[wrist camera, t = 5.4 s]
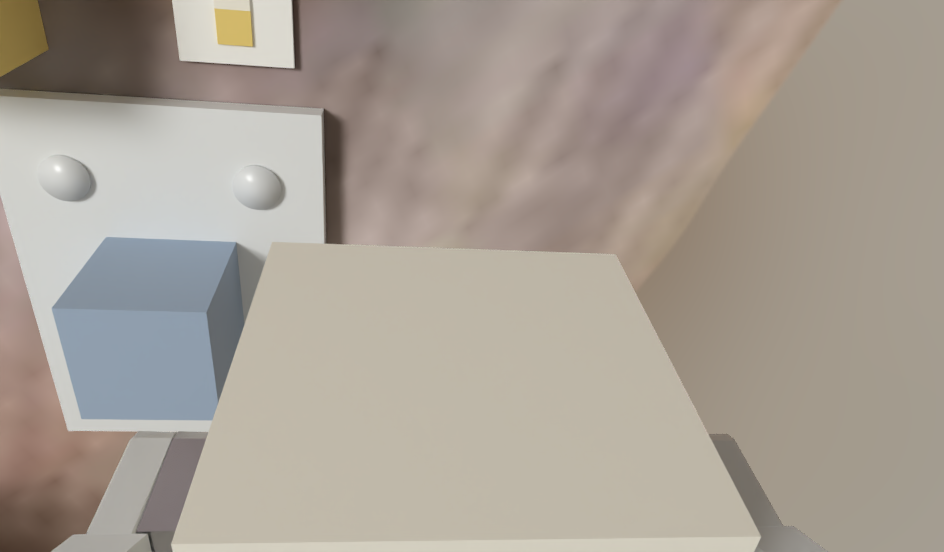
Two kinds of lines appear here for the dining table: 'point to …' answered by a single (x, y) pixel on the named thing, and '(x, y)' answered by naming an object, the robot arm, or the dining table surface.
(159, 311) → the block
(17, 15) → the block
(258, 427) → the block
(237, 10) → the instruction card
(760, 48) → the dining table surface
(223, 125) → the build plate
